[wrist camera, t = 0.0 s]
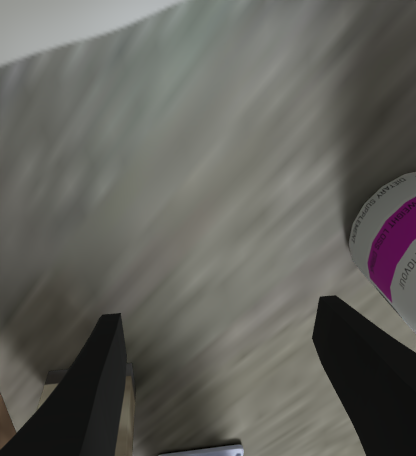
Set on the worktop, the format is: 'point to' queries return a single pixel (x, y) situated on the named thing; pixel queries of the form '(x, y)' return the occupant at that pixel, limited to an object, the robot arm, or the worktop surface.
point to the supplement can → (389, 244)
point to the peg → (127, 414)
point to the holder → (5, 425)
